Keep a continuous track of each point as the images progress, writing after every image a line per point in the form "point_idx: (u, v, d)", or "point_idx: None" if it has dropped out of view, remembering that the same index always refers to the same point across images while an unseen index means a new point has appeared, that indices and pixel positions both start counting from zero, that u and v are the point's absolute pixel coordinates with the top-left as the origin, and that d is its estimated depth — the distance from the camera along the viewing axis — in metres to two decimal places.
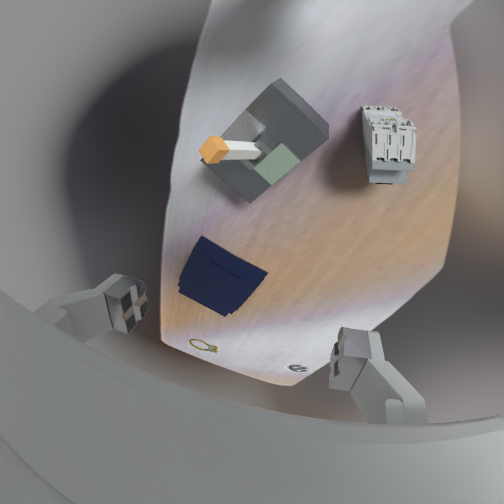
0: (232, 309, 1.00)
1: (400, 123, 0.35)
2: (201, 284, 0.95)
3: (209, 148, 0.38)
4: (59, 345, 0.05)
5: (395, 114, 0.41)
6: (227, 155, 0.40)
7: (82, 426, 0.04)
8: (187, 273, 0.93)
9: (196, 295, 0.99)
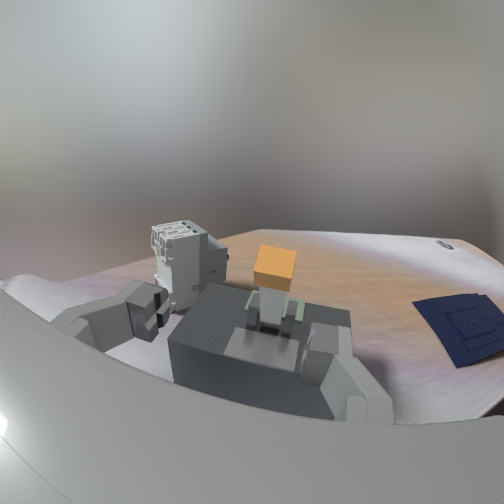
0: (473, 295, 0.58)
1: (156, 240, 0.47)
2: (491, 328, 0.44)
3: (272, 260, 0.23)
4: (59, 346, 0.05)
5: (158, 277, 0.52)
6: None
7: (82, 427, 0.04)
8: (500, 344, 0.39)
9: None
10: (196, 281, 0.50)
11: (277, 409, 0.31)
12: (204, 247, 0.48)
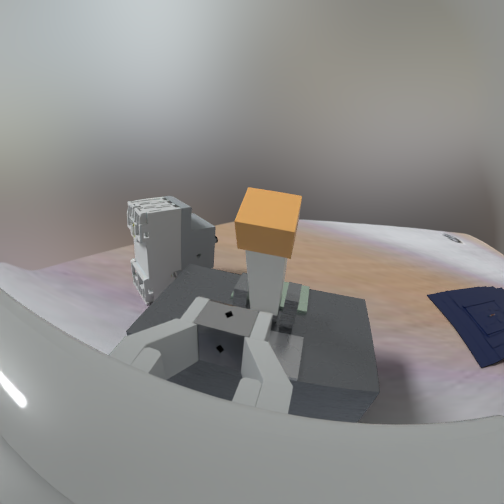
0: (489, 289, 0.50)
1: None
2: None
3: (264, 207, 0.15)
4: (59, 345, 0.05)
5: (135, 262, 0.43)
6: None
7: (82, 427, 0.04)
8: None
9: None
10: (178, 266, 0.42)
11: None
12: (187, 225, 0.40)
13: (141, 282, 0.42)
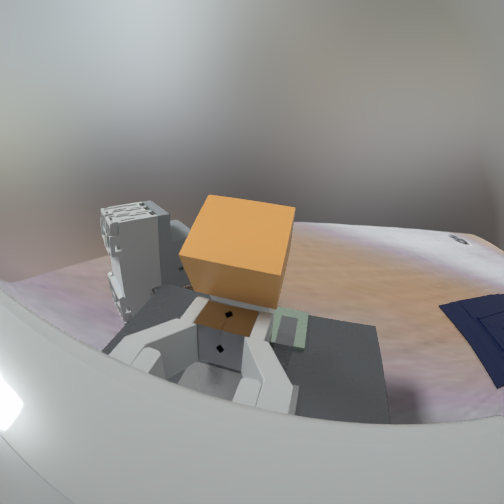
0: (503, 296, 0.43)
1: (104, 226, 0.33)
2: None
3: (230, 229, 0.09)
4: (59, 345, 0.05)
5: (112, 276, 0.37)
6: None
7: (81, 427, 0.04)
8: None
9: None
10: (157, 282, 0.36)
11: None
12: (165, 235, 0.34)
13: (119, 299, 0.36)
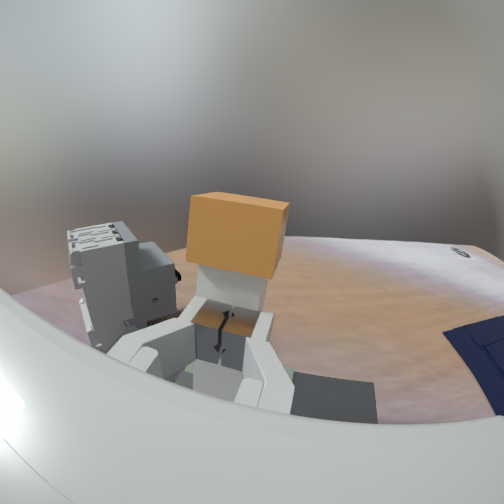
0: None
1: None
2: None
3: (237, 198, 0.10)
4: (59, 345, 0.05)
5: (83, 303, 0.32)
6: None
7: (82, 426, 0.04)
8: None
9: None
10: (128, 314, 0.30)
11: None
12: (134, 264, 0.28)
13: None
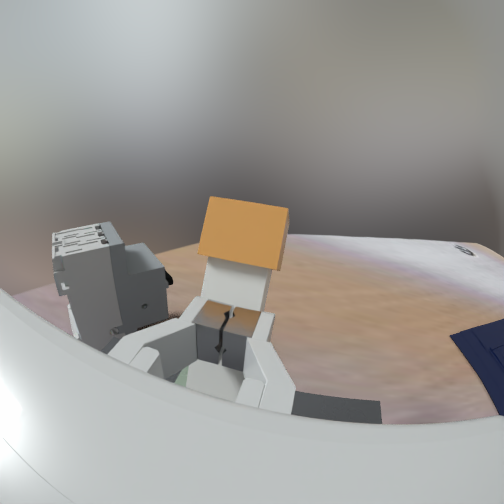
0: None
1: None
2: None
3: None
4: (59, 346, 0.05)
5: None
6: None
7: (82, 427, 0.04)
8: None
9: None
10: (117, 321, 0.28)
11: None
12: (121, 268, 0.26)
13: None
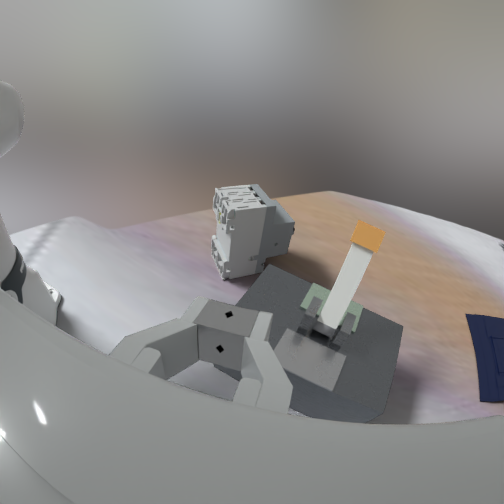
0: None
1: None
2: None
3: None
4: (59, 345, 0.05)
5: (216, 239, 0.51)
6: None
7: (82, 427, 0.04)
8: None
9: None
10: (255, 252, 0.48)
11: (306, 410, 0.31)
12: (270, 220, 0.45)
13: (220, 258, 0.51)
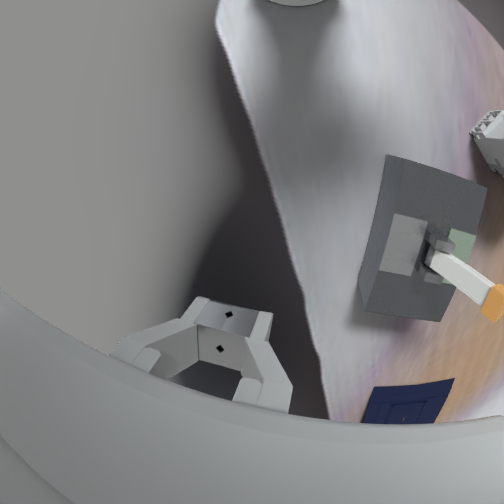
0: None
1: None
2: None
3: None
4: (59, 346, 0.05)
5: (502, 116, 0.23)
6: None
7: (81, 427, 0.04)
8: None
9: None
10: (502, 164, 0.26)
11: (370, 243, 0.41)
12: None
13: (487, 124, 0.27)
